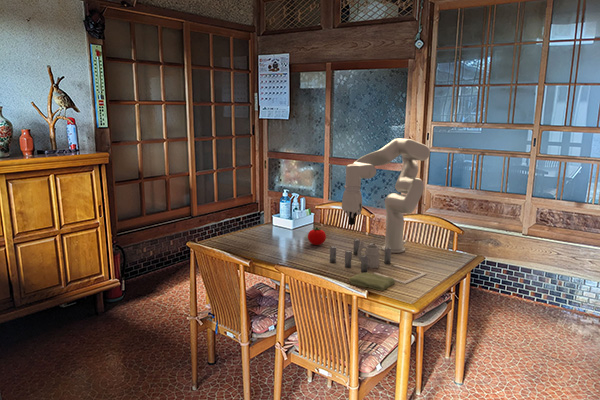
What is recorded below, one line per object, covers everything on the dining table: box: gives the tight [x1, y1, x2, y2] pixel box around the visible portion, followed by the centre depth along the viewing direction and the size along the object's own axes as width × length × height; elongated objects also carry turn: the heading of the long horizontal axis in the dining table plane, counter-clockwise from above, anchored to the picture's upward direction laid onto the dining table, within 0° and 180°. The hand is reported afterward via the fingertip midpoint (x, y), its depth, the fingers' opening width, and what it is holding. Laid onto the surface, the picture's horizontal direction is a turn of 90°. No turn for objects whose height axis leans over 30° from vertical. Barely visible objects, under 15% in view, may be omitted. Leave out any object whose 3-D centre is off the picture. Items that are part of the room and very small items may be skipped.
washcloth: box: [348, 272, 396, 292], centre depth 206 cm, size 13×18×3 cm
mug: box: [357, 240, 381, 269], centre depth 229 cm, size 8×12×12 cm, turn 57°
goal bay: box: [372, 264, 427, 285], centre depth 217 cm, size 18×18×1 cm
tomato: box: [307, 227, 327, 246], centre depth 264 cm, size 10×10×10 cm
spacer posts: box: [329, 238, 392, 274], centre depth 233 cm, size 22×23×8 cm
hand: (351, 224), depth 235 cm, fingers closed
